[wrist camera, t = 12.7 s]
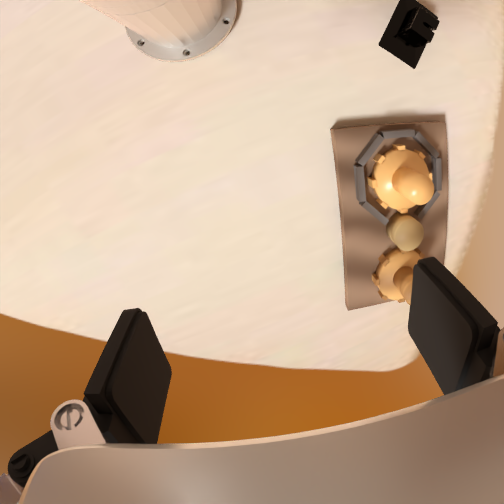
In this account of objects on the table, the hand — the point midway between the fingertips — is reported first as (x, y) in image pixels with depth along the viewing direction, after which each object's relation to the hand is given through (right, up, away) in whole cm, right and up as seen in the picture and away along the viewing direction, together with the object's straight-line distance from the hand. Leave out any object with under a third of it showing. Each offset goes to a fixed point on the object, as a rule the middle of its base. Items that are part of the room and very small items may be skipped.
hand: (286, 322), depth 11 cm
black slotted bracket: (+18, +29, +19) cm, 39 cm away
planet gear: (+16, +11, +25) cm, 32 cm away
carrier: (+17, +7, +28) cm, 34 cm away
